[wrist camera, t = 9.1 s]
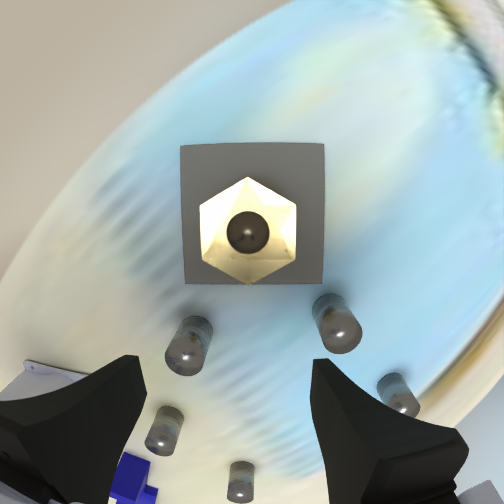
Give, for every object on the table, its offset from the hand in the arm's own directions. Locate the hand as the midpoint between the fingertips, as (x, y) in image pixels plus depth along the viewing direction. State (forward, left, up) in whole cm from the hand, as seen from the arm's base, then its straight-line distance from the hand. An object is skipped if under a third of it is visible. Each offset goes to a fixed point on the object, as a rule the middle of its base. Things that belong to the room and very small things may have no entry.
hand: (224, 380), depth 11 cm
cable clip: (-13, -25, -10) cm, 30 cm away
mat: (+1, +6, -9) cm, 11 cm away
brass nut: (+1, +5, -9) cm, 10 cm away
